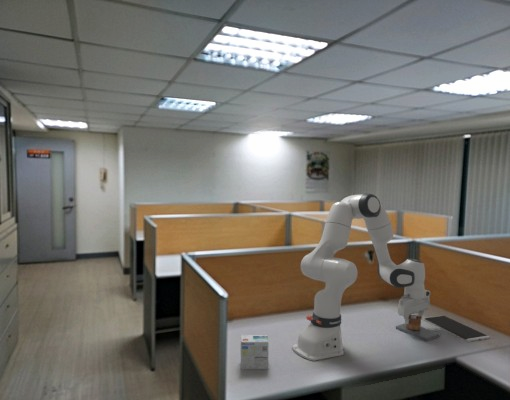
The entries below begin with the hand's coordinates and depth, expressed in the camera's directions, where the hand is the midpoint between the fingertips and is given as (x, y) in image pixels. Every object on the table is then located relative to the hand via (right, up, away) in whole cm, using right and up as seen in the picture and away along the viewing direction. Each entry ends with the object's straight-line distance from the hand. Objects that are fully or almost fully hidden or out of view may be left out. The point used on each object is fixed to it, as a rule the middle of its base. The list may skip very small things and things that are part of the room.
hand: (413, 321), depth 169 cm
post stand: (+1, -5, -1) cm, 5 cm away
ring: (0, -3, 0) cm, 3 cm away
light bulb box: (-76, -6, -33) cm, 83 cm away
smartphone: (+22, -5, +4) cm, 23 cm away
